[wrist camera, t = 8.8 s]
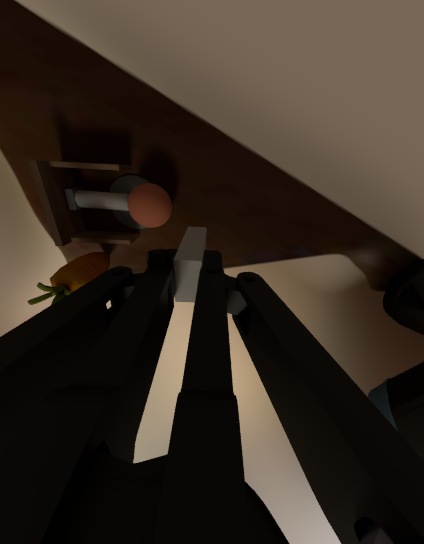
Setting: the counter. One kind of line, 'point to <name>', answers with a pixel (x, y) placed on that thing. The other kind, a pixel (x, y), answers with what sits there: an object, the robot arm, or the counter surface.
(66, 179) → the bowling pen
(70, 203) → the pin
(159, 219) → the ball
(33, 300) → the carrot
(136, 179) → the pin disc
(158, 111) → the counter surface
